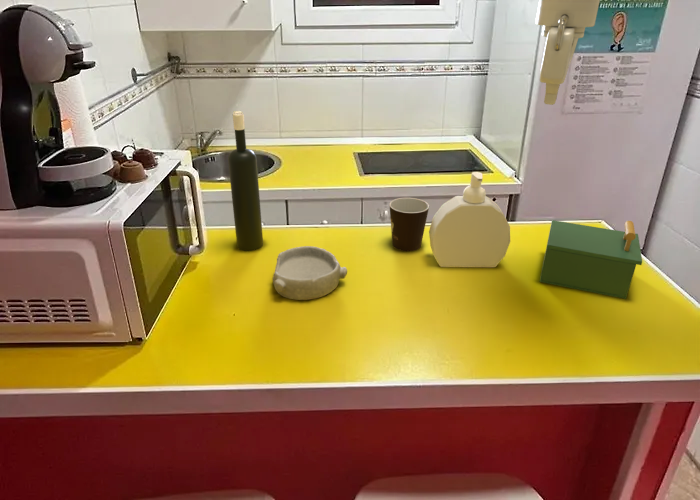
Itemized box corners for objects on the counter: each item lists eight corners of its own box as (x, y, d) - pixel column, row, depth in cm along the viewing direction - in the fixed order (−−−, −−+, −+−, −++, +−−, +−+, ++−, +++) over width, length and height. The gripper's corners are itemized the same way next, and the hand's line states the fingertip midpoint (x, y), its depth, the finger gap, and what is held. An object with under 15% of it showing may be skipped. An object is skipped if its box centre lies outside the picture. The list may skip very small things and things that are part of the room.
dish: (278, 308, 95) (277, 285, 92) (264, 272, 106) (263, 250, 104) (353, 295, 99) (354, 272, 97) (332, 261, 110) (332, 240, 108)
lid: (636, 237, 104) (643, 216, 102) (641, 265, 94) (648, 242, 92) (551, 223, 110) (555, 203, 108) (546, 248, 100) (551, 226, 98)
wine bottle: (232, 249, 115) (217, 113, 101) (246, 239, 120) (233, 107, 106) (254, 254, 113) (242, 116, 99) (268, 243, 118) (258, 110, 104)
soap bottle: (429, 269, 108) (438, 178, 99) (426, 256, 113) (434, 169, 103) (506, 269, 108) (522, 178, 99) (500, 257, 113) (514, 169, 104)
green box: (622, 270, 108) (632, 236, 105) (625, 300, 98) (636, 264, 94) (544, 255, 114) (551, 223, 110) (539, 283, 103) (546, 248, 100)
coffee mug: (420, 257, 112) (423, 215, 108) (382, 250, 115) (384, 209, 110) (432, 236, 122) (436, 196, 117) (397, 230, 125) (399, 191, 120)
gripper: (587, 18, 72) (566, 118, 78) (588, 11, 89) (572, 93, 95) (539, 16, 74) (523, 113, 81) (550, 9, 91) (536, 90, 97)
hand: (549, 102), depth 88 cm, fingers closed
